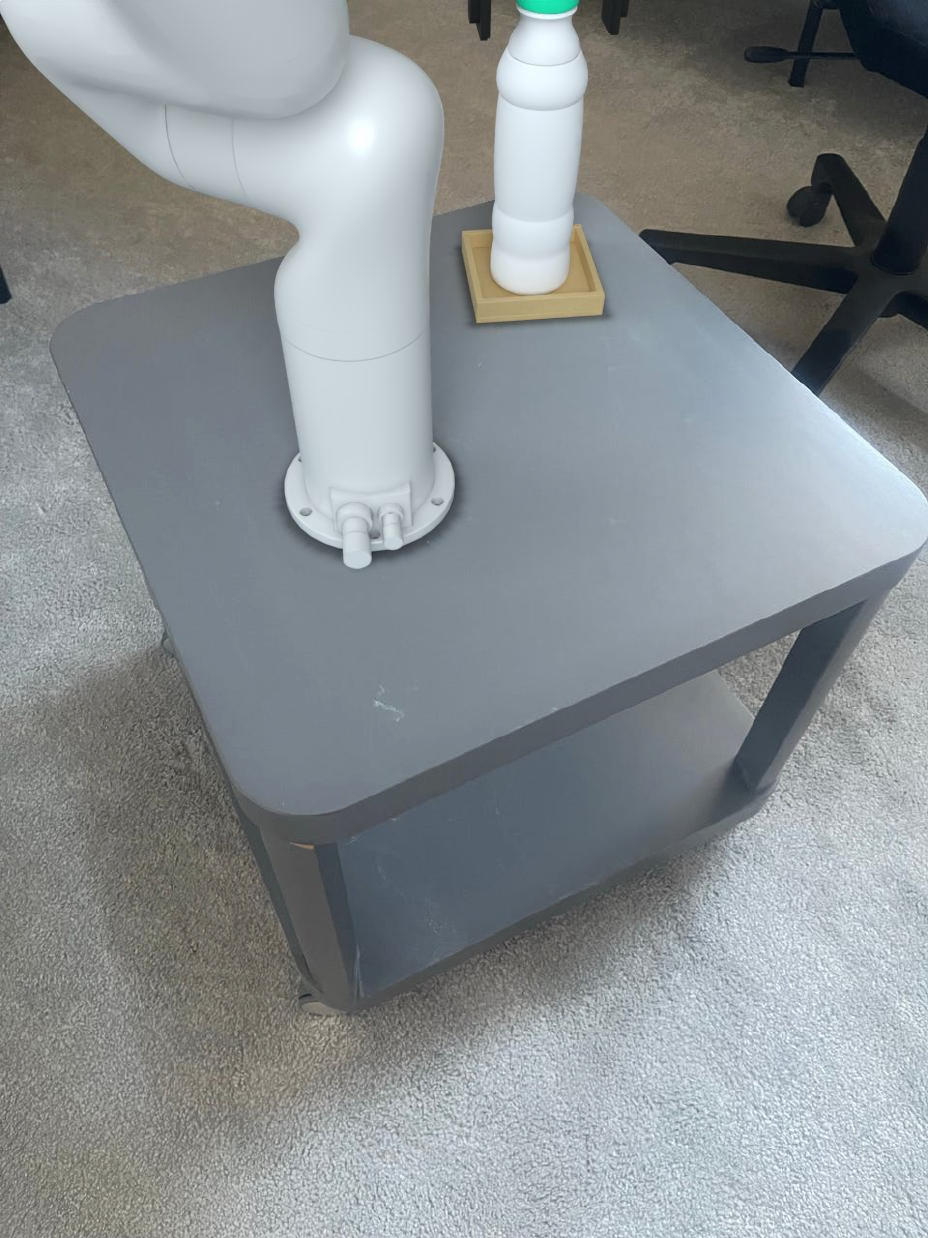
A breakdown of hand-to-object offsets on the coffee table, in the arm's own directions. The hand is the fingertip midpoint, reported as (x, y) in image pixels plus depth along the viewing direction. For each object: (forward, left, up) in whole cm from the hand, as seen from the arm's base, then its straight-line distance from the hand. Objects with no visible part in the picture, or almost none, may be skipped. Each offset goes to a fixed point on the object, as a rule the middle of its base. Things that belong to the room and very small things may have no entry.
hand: (546, 29), depth 75 cm
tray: (0, 0, -21) cm, 21 cm away
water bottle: (0, 0, -21) cm, 21 cm away
